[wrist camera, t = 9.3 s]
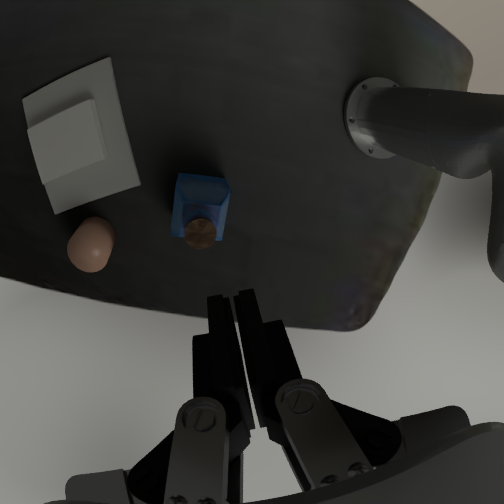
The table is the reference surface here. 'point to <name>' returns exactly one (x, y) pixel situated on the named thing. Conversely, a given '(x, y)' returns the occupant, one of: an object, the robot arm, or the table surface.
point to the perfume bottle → (200, 209)
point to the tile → (67, 141)
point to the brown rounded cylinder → (91, 244)
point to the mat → (113, 129)
